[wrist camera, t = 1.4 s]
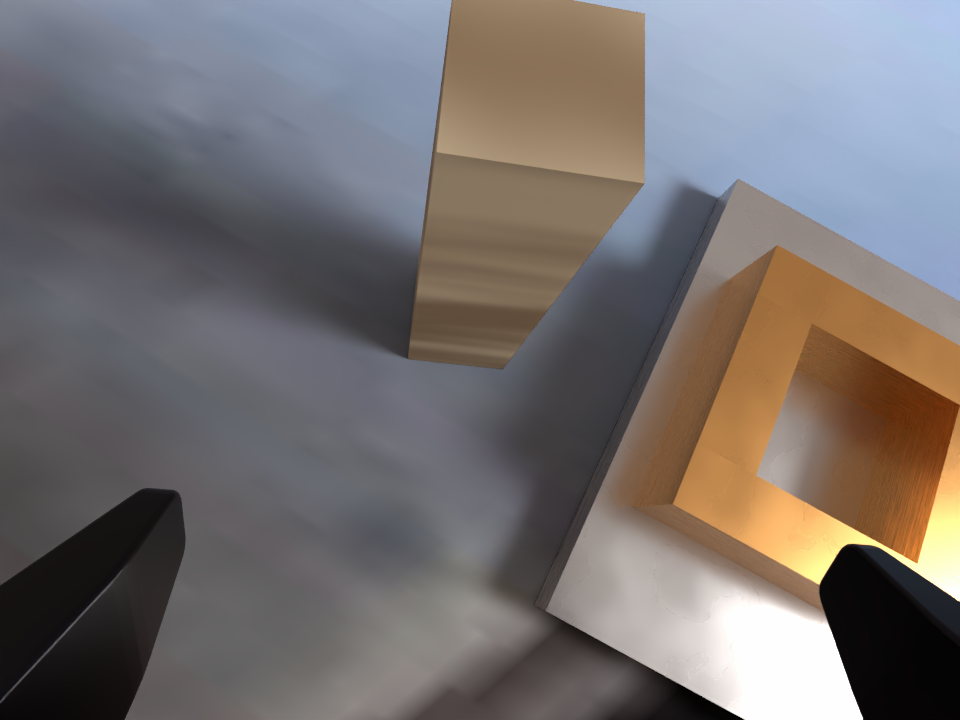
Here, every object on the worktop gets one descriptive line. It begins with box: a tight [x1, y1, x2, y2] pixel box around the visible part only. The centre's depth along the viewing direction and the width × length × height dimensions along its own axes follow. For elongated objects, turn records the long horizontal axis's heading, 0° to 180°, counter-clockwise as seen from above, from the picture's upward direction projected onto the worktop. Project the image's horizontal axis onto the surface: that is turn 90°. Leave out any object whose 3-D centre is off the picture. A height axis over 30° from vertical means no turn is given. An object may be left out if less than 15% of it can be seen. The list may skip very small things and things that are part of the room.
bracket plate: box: [535, 179, 960, 720], centre depth 21 cm, size 18×12×4 cm, turn 152°
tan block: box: [408, 0, 645, 369], centre depth 17 cm, size 4×4×13 cm
